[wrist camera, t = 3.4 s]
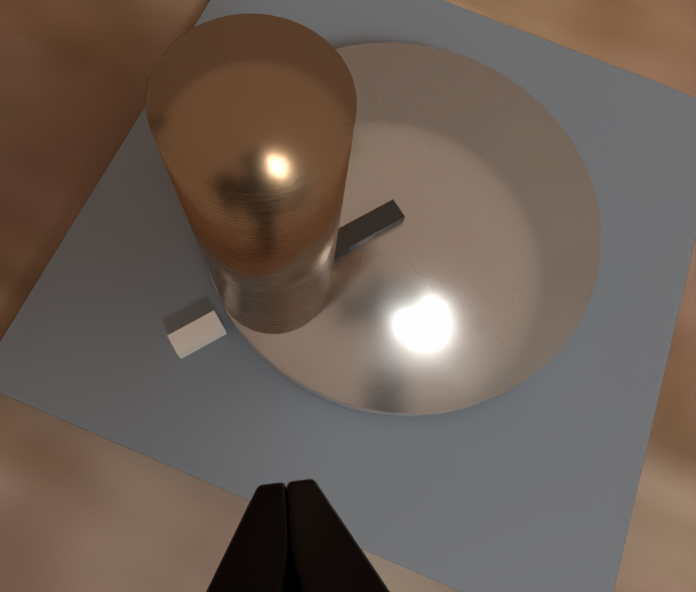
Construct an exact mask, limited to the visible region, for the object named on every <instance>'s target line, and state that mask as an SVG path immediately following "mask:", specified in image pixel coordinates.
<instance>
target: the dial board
mask: <svg viewBox="0 0 696 592" xmlns="http://www.w3.org/2000/svg"><path fill="white" fill-rule="evenodd" d="M254 13H255V14H266V15H272V16H277V17H282V18H285V19H288V20H292V21H294V22H297V23H299V24H301V25H303V26H305V27H307V28H309V29H311V30H312V31H314V32H316V33H317V34H319V35H320V36H321V37H323V38H324V39H325V40H326V41H327V42H328V43H329V44H331V45H332V46H333V47H334V48H335V49H338V48H342V47H346V46H352V45H360V44H367V43H391V42H396V43H407V44H419V45H424V46H429V47H434V48H439V49H443V50H447V51H450V52H453V53H456V54H460V55H463V56H466V57H468V58H470V59H473V60H475V61H477V62H480V63H482V64H484V65H487V66H488V67H490V68H492V69H494V70H495V71H497V72H499V73H501V74H503V75H504V76H506V77H508V78H509V79H511V80H512V81H513V82H515V83H516V84H518V85H519V86H520V87H522V88H523V89H525V90H526V91H527V92H528V93H529V94H531V95H532V96H533V97H534V98H535V99H536V100H537V101H538V102H539V103H541V104H542V105H543V106H544V107H545V108H546V109H547V110H548V111H549V113H550V114H551V115H552V116H553V117H554V118H555V119H556V121H557V122H558V123H559V124H560V125H561V126H562V128H563V129H564V131H565V132H566V134H567V135H568V136H569V138H570V139H571V141H572V142H573V144H574V145H575V147H576V149H577V151H578V153H579V155H580V157H581V158H582V160H583V162H584V164H585V166H586V169H587V171H588V174H589V177H590V179H591V182H592V185H593V187H594V191H595V195H596V199H597V204H598V208H599V214H600V224H601V234H602V236H601V259H600V264H599V270H598V275H597V281H596V284H595V287H594V290H593V293H592V296H591V299H590V302H589V305H588V307H587V309H586V311H585V313H584V314H583V316H582V318H581V320H580V322H579V324H578V326H577V328H576V329H575V331H574V332H573V333H572V335H571V336H570V337H569V339H568V340H567V342H566V343H565V344H564V346H563V347H562V348H561V349H560V350H559V351H558V352H557V353H556V354H555V355H554V356H553V357H552V358H551V359H550V361H549V362H548V363H547V364H546V365H545V366H543V367H542V368H541V369H539V370H538V371H537V372H536V373H534V374H533V375H532V376H530V377H529V378H528V379H526V380H525V381H524V382H522V383H520V384H518V385H517V386H515V387H513V388H511V389H509V390H508V391H506V392H504V393H502V394H500V395H498V396H496V397H494V398H492V399H490V400H487V401H485V402H482V403H480V404H477V405H474V406H472V407H469V408H466V409H464V410H460V411H455V412H451V413H447V414H442V415H438V416H427V417H416V418H400V417H382V416H376V415H371V414H365V413H360V412H355V411H352V410H349V409H346V408H343V407H340V406H336V405H333V404H330V403H328V402H326V401H324V400H322V399H319V398H317V397H315V396H313V395H311V394H309V393H307V392H305V391H303V390H302V389H300V388H299V387H297V386H295V385H294V384H292V383H291V382H289V381H288V380H286V379H285V378H283V377H282V376H280V375H279V374H278V373H277V372H276V371H275V370H273V369H272V368H271V367H270V366H269V365H268V364H266V363H265V362H264V361H263V360H262V359H261V358H260V357H259V356H258V355H257V354H256V353H255V352H254V350H253V349H252V348H251V347H250V346H249V345H248V344H247V343H246V342H245V340H244V339H243V338H242V336H241V335H240V333H239V332H238V330H237V329H236V327H235V326H234V324H233V323H232V321H231V320H230V318H229V317H228V315H227V313H226V311H225V309H224V306H223V304H222V302H221V300H220V298H219V296H218V294H217V292H216V289H215V287H214V285H213V282H212V279H211V276H210V273H209V270H208V267H207V265H206V262H205V260H204V257H203V255H202V253H201V250H200V248H199V245H198V243H197V241H196V238H195V236H194V233H193V231H192V229H191V226H190V224H189V221H188V219H187V217H186V214H185V212H184V209H183V207H182V204H181V202H180V200H179V197H178V195H177V192H176V190H175V188H174V185H173V183H172V180H171V178H170V176H169V173H168V171H167V168H166V166H165V164H164V161H163V159H162V156H161V154H160V152H159V149H158V147H157V144H156V142H155V139H154V137H153V135H152V132H151V129H150V126H149V123H148V120H147V113H146V105H145V107H144V109H143V110H142V112H141V114H140V115H139V117H138V118H137V120H136V122H135V123H134V125H133V127H132V128H131V130H130V131H129V133H128V135H127V136H126V138H125V140H124V141H123V143H122V144H121V146H120V148H119V149H118V151H117V153H116V154H115V156H114V157H113V159H112V161H111V162H110V164H109V166H108V167H107V169H106V170H105V172H104V174H103V175H102V177H101V179H100V180H99V182H98V183H97V185H96V187H95V188H94V190H93V192H92V193H91V195H90V196H89V198H88V200H87V201H86V203H85V205H84V206H83V208H82V209H81V211H80V213H79V214H78V216H77V218H76V219H75V221H74V222H73V224H72V226H71V227H70V229H69V231H68V232H67V234H66V235H65V237H64V239H63V240H62V242H61V244H60V245H59V247H58V248H57V250H56V252H55V253H54V255H53V257H52V258H51V260H50V261H49V263H48V265H47V266H46V268H45V270H44V271H43V273H42V274H41V276H40V278H39V279H38V281H37V283H36V284H35V286H34V287H33V289H32V291H31V292H30V294H29V296H28V297H27V299H26V300H25V302H24V304H23V305H22V307H21V309H20V310H19V312H18V313H17V315H16V317H15V318H14V320H13V322H12V323H11V325H10V326H9V328H8V330H7V331H6V333H5V335H4V336H3V338H2V339H1V341H0V393H1V394H4V395H6V396H8V397H10V398H13V399H15V400H17V401H20V402H22V403H24V404H27V405H29V406H31V407H34V408H36V409H38V410H41V411H43V412H45V413H48V414H50V415H52V416H55V417H57V418H59V419H62V420H64V421H66V422H68V423H71V424H73V425H75V426H78V427H80V428H82V429H85V430H87V431H89V432H92V433H94V434H96V435H99V436H101V437H103V438H106V439H108V440H110V441H113V442H115V443H117V444H120V445H122V446H124V447H126V448H129V449H131V450H133V451H136V452H138V453H140V454H143V455H145V456H147V457H150V458H152V459H154V460H157V461H159V462H161V463H164V464H166V465H168V466H171V467H173V468H175V469H178V470H180V471H182V472H184V473H187V474H189V475H191V476H194V477H196V478H198V479H201V480H203V481H205V482H208V483H210V484H212V485H215V486H217V487H219V488H222V489H224V490H226V491H229V492H231V493H233V494H235V495H238V496H240V497H242V498H245V499H247V500H249V501H250V500H251V498H252V496H253V494H254V492H255V490H256V489H257V487H258V486H260V485H262V484H271V483H279V482H283V483H285V485H286V487H287V484H288V483H289V482H290V481H296V480H304V479H313V480H315V481H316V482H317V484H318V485H319V487H320V488H321V490H322V491H323V493H324V494H325V496H326V497H327V499H328V500H329V502H330V503H331V505H332V506H333V507H334V509H335V510H336V512H337V513H338V515H339V516H340V518H341V519H342V521H343V522H344V524H345V525H346V527H347V528H348V530H349V531H350V533H351V534H352V536H353V537H354V539H355V540H356V542H357V543H358V545H359V546H360V548H361V549H363V550H365V551H368V552H370V553H372V554H375V555H377V556H379V557H382V558H384V559H386V560H389V561H391V562H393V563H396V564H398V565H400V566H402V567H405V568H407V569H409V570H412V571H414V572H416V573H419V574H421V575H423V576H426V577H428V578H430V579H433V580H435V581H437V582H440V583H442V584H444V585H447V586H449V587H451V588H454V589H456V590H458V591H460V592H613V591H614V587H615V582H616V578H617V574H618V569H619V565H620V561H621V557H622V552H623V548H624V544H625V539H626V535H627V531H628V526H629V522H630V518H631V514H632V509H633V505H634V501H635V496H636V492H637V488H638V484H639V479H640V475H641V471H642V466H643V462H644V458H645V453H646V449H647V445H648V441H649V436H650V432H651V428H652V423H653V419H654V415H655V410H656V406H657V402H658V398H659V393H660V389H661V385H662V380H663V376H664V372H665V367H666V363H667V359H668V355H669V350H670V346H671V342H672V337H673V333H674V329H675V324H676V320H677V316H678V312H679V307H680V303H681V299H682V294H683V290H684V286H685V282H686V277H687V273H688V269H689V264H690V260H691V256H692V251H693V247H694V243H695V239H696V97H694V96H691V95H689V94H686V93H683V92H681V91H678V90H675V89H673V88H670V87H668V86H665V85H662V84H660V83H657V82H655V81H652V80H649V79H647V78H644V77H642V76H639V75H636V74H634V73H631V72H629V71H626V70H623V69H621V68H618V67H616V66H613V65H610V64H608V63H605V62H602V61H600V60H597V59H595V58H592V57H589V56H587V55H584V54H582V53H579V52H576V51H574V50H571V49H569V48H566V47H563V46H561V45H558V44H556V43H553V42H550V41H548V40H545V39H542V38H540V37H537V36H535V35H532V34H529V33H527V32H524V31H522V30H519V29H516V28H514V27H511V26H509V25H506V24H503V23H501V22H498V21H496V20H493V19H490V18H488V17H485V16H483V15H480V14H477V13H475V12H472V11H469V10H467V9H464V8H462V7H459V6H456V5H454V4H451V3H449V2H446V1H443V0H210V2H209V3H208V5H207V6H206V8H205V10H204V11H203V13H202V15H201V16H200V18H199V19H198V21H197V23H196V24H195V26H194V27H196V26H198V25H200V24H202V23H204V22H207V21H210V20H213V19H216V18H220V17H224V16H228V15H236V14H254Z"/></svg>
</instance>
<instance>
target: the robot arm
mask: <svg viewBox="0 0 696 592" xmlns="http://www.w3.org/2000/svg"><path fill="white" fill-rule="evenodd" d="M206 592H390V591H389V590H388V588H387V587H386V585H385V584H384V582H383V581H382V579H381V578H380V576H379V575H378V573H377V572H376V570H375V569H374V567H373V566H372V564H371V563H370V561H369V560H368V558H367V557H366V555H365V554H364V552H363V551H362V549H361V548H360V546H359V545H358V543H357V542H356V540H355V539H354V537H353V536H352V534H351V533H350V531H349V530H348V528H347V527H346V525H345V524H344V522H343V521H342V519H341V518H340V516H339V515H338V513H337V512H336V510H335V509H334V507H333V506H332V505H331V503H330V502H329V500H328V499H327V497H326V496H325V494H324V493H323V491H322V490H321V488H320V487H319V485H318V484H317V482H316V481H315V480H313V479H304V480H296V481H290V482H289V483H288V484H287V487H286V485H285V483H283V482H279V483H271V484H262V485H260V486H258V487H257V489H256V490H255V492H254V494H253V496H252V498H251V500H250V503H249V505H248V507H247V509H246V511H245V513H244V515H243V517H242V519H241V521H240V523H239V525H238V527H237V529H236V531H235V533H234V535H233V538H232V540H231V542H230V544H229V546H228V548H227V550H226V552H225V554H224V556H223V558H222V560H221V562H220V564H219V566H218V568H217V571H216V573H215V575H214V577H213V579H212V581H211V583H210V585H209V587H208V589H207V591H206Z"/></svg>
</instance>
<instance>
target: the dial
mask: <svg viewBox="0 0 696 592" xmlns="http://www.w3.org/2000/svg"><path fill="white" fill-rule="evenodd" d="M146 113H147V120H148V123H149V126H150V129H151V132H152V135H153V137H154V139H155V142H156V144H157V147H158V149H159V152H160V154H161V156H162V159H163V161H164V164H165V166H166V168H167V171H168V173H169V176H170V178H171V180H172V183H173V185H174V188H175V190H176V192H177V195H178V197H179V200H180V202H181V204H182V207H183V209H184V212H185V214H186V217H187V219H188V221H189V224H190V226H191V229H192V231H193V233H194V236H195V238H196V241H197V243H198V245H199V248H200V250H201V253H202V255H203V257H204V260H205V262H206V265H207V267H208V270H209V273H210V276H211V279H212V282H213V285H214V287H215V289H216V292H217V294H218V296H219V298H220V300H221V302H222V304H223V306H224V309H225V311H226V313H227V315H228V317H229V318H230V320H231V321H232V323H233V324H234V326H235V327H236V329H237V330H238V332H239V333H240V335H241V336H242V338H243V339H244V340H245V342H246V343H247V344H248V345H249V346H250V347H251V348H252V349H253V350H254V352H255V353H256V354H257V355H258V356H259V357H260V358H261V359H262V360H263V361H264V362H265V363H266V364H268V365H269V366H270V367H271V368H272V369H273V370H275V371H276V372H277V373H278V374H279V375H280V376H282V377H283V378H285V379H286V380H288V381H289V382H291V383H292V384H294V385H295V386H297V387H299V388H300V389H302V390H303V391H305V392H307V393H309V394H311V395H313V396H315V397H317V398H319V399H322V400H324V401H326V402H328V403H330V404H333V405H336V406H340V407H343V408H346V409H349V410H352V411H355V412H360V413H365V414H371V415H376V416H382V417H400V418H416V417H427V416H438V415H442V414H447V413H451V412H455V411H460V410H464V409H466V408H469V407H472V406H474V405H477V404H480V403H482V402H485V401H487V400H490V399H492V398H494V397H496V396H498V395H500V394H502V393H504V392H506V391H508V390H509V389H511V388H513V387H515V386H517V385H518V384H520V383H522V382H524V381H525V380H526V379H528V378H529V377H530V376H532V375H533V374H534V373H536V372H537V371H538V370H539V369H541V368H542V367H543V366H545V365H546V364H547V363H548V362H549V361H550V359H551V358H552V357H553V356H554V355H555V354H556V353H557V352H558V351H559V350H560V349H561V348H562V347H563V346H564V344H565V343H566V342H567V340H568V339H569V337H570V336H571V335H572V333H573V332H574V331H575V329H576V328H577V326H578V324H579V322H580V320H581V318H582V316H583V314H584V313H585V311H586V309H587V307H588V305H589V302H590V299H591V296H592V293H593V290H594V287H595V284H596V281H597V275H598V270H599V264H600V259H601V236H602V234H601V224H600V214H599V208H598V204H597V199H596V195H595V191H594V187H593V185H592V182H591V179H590V177H589V174H588V171H587V169H586V166H585V164H584V162H583V160H582V158H581V157H580V155H579V153H578V151H577V149H576V147H575V145H574V144H573V142H572V141H571V139H570V138H569V136H568V135H567V134H566V132H565V131H564V129H563V128H562V126H561V125H560V124H559V123H558V122H557V121H556V119H555V118H554V117H553V116H552V115H551V114H550V113H549V111H548V110H547V109H546V108H545V107H544V106H543V105H542V104H541V103H539V102H538V101H537V100H536V99H535V98H534V97H533V96H532V95H531V94H529V93H528V92H527V91H526V90H525V89H523V88H522V87H520V86H519V85H518V84H516V83H515V82H513V81H512V80H511V79H509V78H508V77H506V76H504V75H503V74H501V73H499V72H497V71H495V70H494V69H492V68H490V67H488V66H487V65H484V64H482V63H480V62H477V61H475V60H473V59H470V58H468V57H466V56H463V55H460V54H456V53H453V52H450V51H447V50H443V49H439V48H434V47H429V46H424V45H419V44H407V43H396V42H391V43H367V44H360V45H352V46H346V47H342V48H338V49H335V48H334V47H333V46H332V45H331V44H329V43H328V42H327V41H326V40H325V39H324V38H323V37H321V36H320V35H319V34H317V33H316V32H314V31H312V30H311V29H309V28H307V27H305V26H303V25H301V24H299V23H297V22H294V21H292V20H288V19H285V18H282V17H277V16H272V15H266V14H255V13H254V14H236V15H228V16H224V17H220V18H216V19H213V20H210V21H207V22H204V23H202V24H200V25H198V26H196V27H194V28H192V29H190V30H189V31H187V32H186V33H184V34H183V35H181V36H180V37H179V38H178V39H176V40H175V41H174V42H173V43H172V44H171V45H170V46H169V47H168V48H167V49H166V50H165V51H164V53H163V54H162V55H161V57H160V58H159V60H158V61H157V63H156V65H155V67H154V69H153V71H152V73H151V76H150V79H149V82H148V85H147V91H146Z"/></svg>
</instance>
